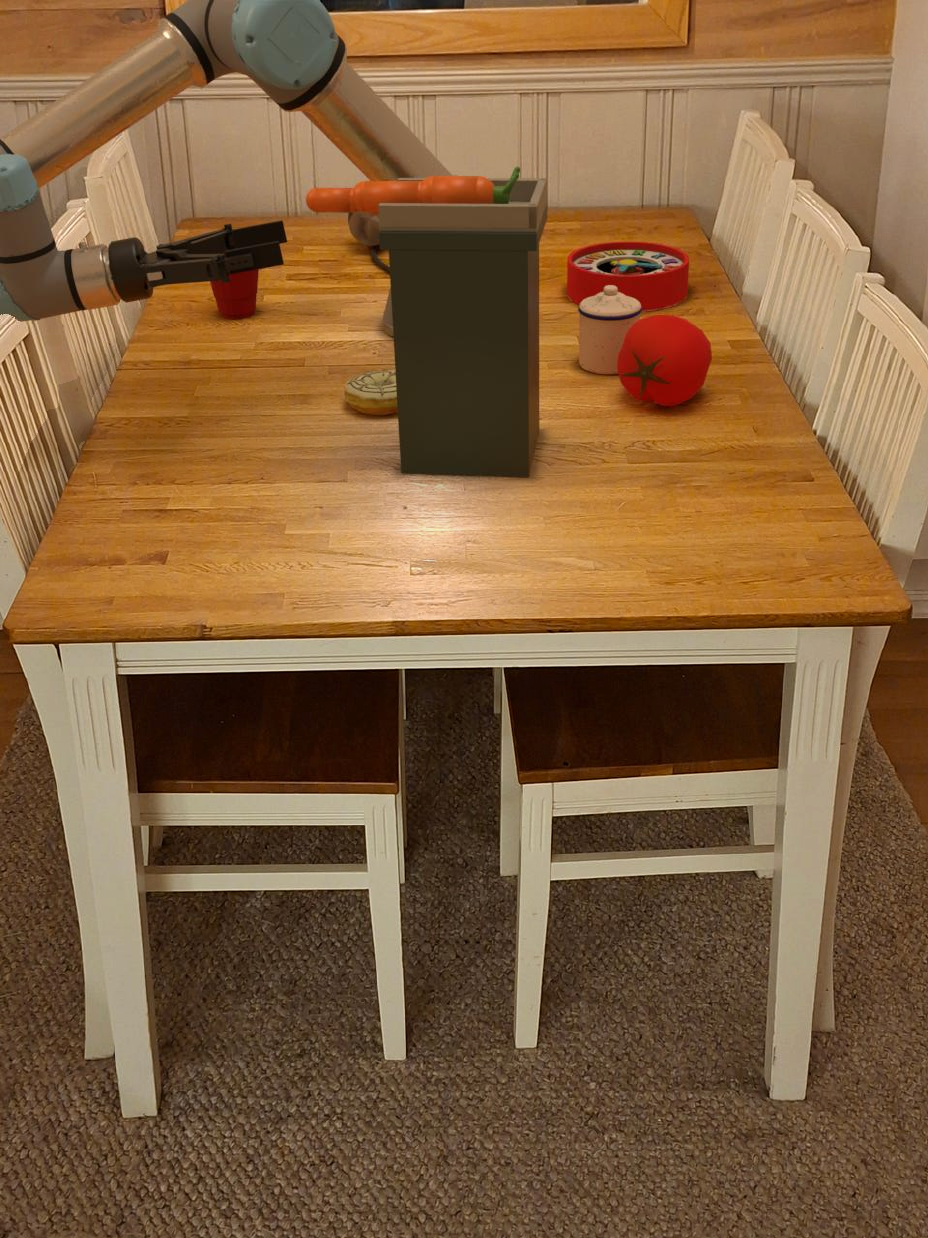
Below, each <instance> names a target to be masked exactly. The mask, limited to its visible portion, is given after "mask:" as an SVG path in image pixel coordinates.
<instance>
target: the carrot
mask: <svg viewBox="0 0 928 1238" xmlns="http://www.w3.org/2000/svg"><path fill="white" fill-rule="evenodd" d="M520 172H521V167H520V166H515V167H514V169H513V171H512V173H511V176H510V177H509V178H510V180H509V182H508V183H507V185H506V186H494V184H493V183H492V182H491V181H490V180H489V179H487V178H488V177H485V176H481V175H458V176H430V177H427V178H425V179H424V180H423V181H370V180H363V181H360V182H358V183H356V184H355V185H354V186H353V187H315V188H311V189H310V190H308V192H307V193H306V195H305V204H306V206H307V208H308V209H309V210H310V211H311V212H314V213H323V214H324V213H326V214H327V213H331V214H333V213H336V214H337V213H338V214H339V213H340V214H344V213H345V214H348V213H355V212H358V211H360V212H363V213H372V214H379V209H378V205H379V204H380V203H423V204H509V196H510V193H511V190H512V188H513V186H514V184H515V182H516V181H517V179H518V178H520Z"/></svg>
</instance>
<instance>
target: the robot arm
mask: <svg viewBox="0 0 928 1238" xmlns="http://www.w3.org/2000/svg"><path fill="white" fill-rule="evenodd" d="M347 55H348V46H347V44H346V42H345V41H344V40H343V39H342V37H341V36H340V35H339V34H338V33H337V32H336V28H335V24H334V21H333V19H332V16H331V15H330V13H329V10H327V8H326V7H325V5H324V4H323V3H322V2H321V1H320V0H186V1H185V2H184V3H182V4H181V5H179V6H178V7H177V8H175V9H173V10H172V11H171V12H169V13H167V14H166V15H165V16H163V17H161V18H160V19H159V20H158V25H157V31H156V32H155V33H154V34H152V35H151V36H149V37H147V39H145V40H143V41H142V42H140V43H139V44H137V45H136V46H134V47H133V48H131V49H130V50H128V51H127V52H125V53H124V54H122V55H121V56H120V57H118V58H116V59H115V60H114V61H112V62H111V63H109V64H108V65H106V66H105V67H103V68H102V69H100V70H99V71H97V72H96V73H94V74H93V75H92V76H90V77H88V78H87V79H85V80H84V81H83V82H81V83H80V84H78V85H77V86H75V87H74V88H72V89H71V90H70V91H68V92H66V93H65V94H63V95H62V96H60V97H59V98H58V99H56V100H54V101H53V102H51V103H50V104H49V105H47V106H46V107H44V108H43V109H41V110H40V111H39V112H37V113H35V114H34V115H33V116H30V117H29V118H28V119H27V120H25V121H24V122H22V123H21V124H19V125H17V127H15V128H14V129H12V130H11V131H9V132H8V133H6V134H5V135H3V136H1V137H0V315H1V314H2V315H3V314H9V315H11V316H13V317H15V319H17V320H18V321H20V322H19V323H22V322H29V321H34V322H36V321H41V320H42V319H49V318H52V317H56V316H57V317H58V316H62V315H67V314H72V313H76V312H77V313H78V312H84V311H91V310H96V309H101V308H108V307H113V306H118V305H119V304H120V301H122V302H125V303H132V302H138V301H143V300H148V299H151V298H152V296H153V294H154V288H157V287H161V286H168V285H180V284H193V283H206V282H210V281H220V280H222V283H226V282H229V281H231V280H230V276H229V272H228V271H230V275H231V274H236V273H241V272H247V271H252V270H257V269H259V270H262V269H268V268H273V267H278V266H283V265H284V264H285V263H284V257H283V254H282V253H283V252H282V249H281V244H286V243H288V238H287V234H286V230H285V224H284V221H283V220H284V219H282V220H276V221H270V222H266V223H260V224H255V225H249V226H244V227H238V228H233V226H232V225H233V224H232V223H226V224H224V225H223V227H222V228H220V229H216V230H212V231H209V232H205V233H202V234H198V235H195V236H190V237H187V238H184V239H180V240H176V241H172V242H168V243H160V244H158V245H156V249H155V251H151V252H149V253H148V252H147V251H146V250H145V246H144V244H143V242H142V241H141V239H139V238H138V237H136V236H134V237H128V238H122V239H118V240H111V241H110V243H109V244H108V245H106V244H105V243H99V244H93V245H91V246H88V244H87V242H85V241H81V242H80V243H79V244H78V247H77V248H69V249H66V250H59V249H58V247H57V243H56V239H55V237H54V235H53V232H52V228H51V225H50V221H49V219H48V218H49V217H48V215H47V212H46V209H45V206H44V203H43V200H42V196H41V193H40V189H41V188H44V186H46V185H47V184H48V183H50V182H52V181H53V180H54V179H56V178H57V177H59V176H61V175H62V174H63V173H65V172H67V171H68V170H69V169H71V168H72V167H74V166H75V165H77V164H78V163H80V162H81V161H83V160H84V159H85V158H87V157H89V156H90V155H92V154H94V152H96V151H97V150H99V149H100V148H102V147H103V146H104V145H106V144H108V143H110V142H111V141H112V140H113V139H114V138H116V137H118V136H119V135H120V134H122V133H123V132H125V131H126V130H128V129H129V128H131V127H132V126H134V125H135V124H137V123H138V122H140V121H141V120H142V119H144V118H146V117H147V116H149V115H150V114H152V113H153V112H154V111H156V110H157V109H159V108H160V107H162V106H163V105H165V104H166V103H168V102H169V101H171V100H172V99H173V98H175V97H176V96H178V95H180V94H181V93H182V92H184V91H185V90H187V89H188V88H189V87H191V86H195V87H199V88H204V87H206V86H207V85H209V84H210V83H212V82H213V81H214V80H216V79H218V78H220V77H223V76H226V75H229V74H233V73H238V74H241V75H244V76H247V77H248V78H249V79H250V80H251V81H253V83H255V84H256V85H257V86H258V87H259V88H260V89H261V90H262V91H263V92H264V93H265V94H266V95H267V96H268V97H269V98H270V100H272V101H273V102H274V103H275V104H276V105H277V106H278V107H279V108H280V109H281V110H283V111H284V112H287V113H293V112H294V113H295V112H301V113H302V114H303V115H304V116H305V117H306V118H307V119H308V120H309V121H310V122H311V123H312V124H313V125H314V126H315V127H316V128H317V129H318V131H320V132H321V133H322V134H323V135H324V136H325V137H326V138H327V139H328V140H329V141H330V142H331V143H332V144H333V145H334V146H335V147H336V149H338V150H339V151H340V152H341V153H342V154H343V155H344V156H345V157H346V158H347V160H349V161H350V162H351V163H352V165H354V166H355V167H356V168H357V169H358V170H359V171H360V172H361V174H363V175H364V176H365V177H366V179H368V181H397V179H398V178H427V177H430V176H459V175H458V174H452V173H451V172H450V171H449V169H447V167H446V166H445V165H444V164H443V163H442V162H441V161H440V160H439V159H438V158H437V157H436V156H435V155H434V154H433V153H432V151H431V150H430V149H429V148H428V147H427V146H426V145H425V144H424V143H423V141H421V140H420V138H419V137H417V135H416V134H415V133H414V132H413V131H412V129H410V128H409V126H407V125H406V124H405V123H404V121H402V119H401V118H400V117H399V116H398V115H397V114H396V113H395V112H394V111H393V109H391V107H389V105H387V103H386V102H385V101H384V100H383V99H382V98H381V97H380V96H379V94H378V93H377V92H376V91H374V89H373V88H372V87H371V86H370V85H369V84H368V83H367V82H366V81H365V80H364V78H363V77H361V75H360V74H359V73H358V72H357V71H356V70H355V69H354V68H353V67H352V66H351V65H350V63H349V62H348V61H347ZM376 251H377V248H376V246H371V247H370V257H371V259H372V261H373V263H375V264H376V265H377V266H378V267H379V268H381V269H383V270H384V271H386V272H388V273H390V266H389V265H387V264H385V263H384V262H382V260H380V259H379V257H378V256H377V254H376ZM224 253H225V255H226V257H225V255H224ZM382 326H383V331H384V332H385V333H386V334H387V335H389V336H391V337H393V319H392V301H391V286H390V287H389V291H388V295H387V299H386V303H385V307H384V310H383V316H382ZM393 338H394V337H393Z"/></svg>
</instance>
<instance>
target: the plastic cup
mask: <svg viewBox="0 0 928 1238" xmlns="http://www.w3.org/2000/svg"><path fill="white" fill-rule="evenodd" d="M224 255H225V253H224ZM225 257H226V255H225ZM259 271H260V269H257V270H252V271H247V272H241V273H236V274H231V275H230V271H228V272H229V276H230V280H231V281H229V282H226V283H222V280H220V281H209V284H210V287H211V290H212V293H213V297H214V299H215V302H216V307H217V310H218V313H219V315H220V317H222V318H224V319H228V320H240V319H246V318H250V317H252V316H254V315H255V314H256V310H257V294H258V288H259V285H258V284H259Z"/></svg>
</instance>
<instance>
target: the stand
mask: <svg viewBox="0 0 928 1238" xmlns="http://www.w3.org/2000/svg"><path fill="white" fill-rule="evenodd" d="M486 178H487V179H489V180H490V181H491V182H492V183H493V184H494V186H506V185H507V183H508V182H509V180H510V178H511V177H502V178H501V177H486ZM424 179H425V178H398V179H397V181H423V180H424ZM378 209H379V226H380V232H379V242H380V248H379V250H380V251H381V250H382V251H383V250H384V251H385V250H386V251H387V250H388V263H389V265H388V266H389V267H390V272H389V281H390V287H391V301H392V319H393V351H394V352H393V353H394V355H393V356H394V370H395V373H396V391H397V409H398V413H397V423H398V426H397V427H398V442H399V458H400V459H399V461H400V473H401V474H413V475H414V474H415V475H444V476H445V475H446V476H475V477H476V476H479V477H506V478H508V477H509V478H530V474H531V471H532V467H533V462H534V458H535V454H536V449H537V445H538V440H539V436H540V242H541V239H542V236H543V234H544V233H543V232H544V230H545V226H546V224H547V220H548V178H540V177H539V178H537V177H536V178H530V177H528V178H527V177H525V178H524V177H523V178H521V177H519V178H518V179H517V181H516V182H515V184H514V186H513V188H512V190H511V193H510V196H509V204H423V203H380V204H379V205H378Z"/></svg>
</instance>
